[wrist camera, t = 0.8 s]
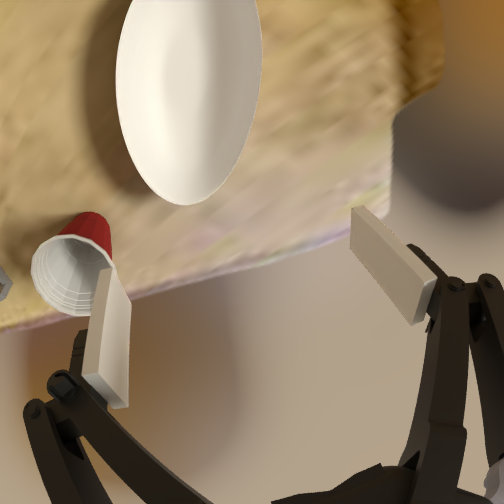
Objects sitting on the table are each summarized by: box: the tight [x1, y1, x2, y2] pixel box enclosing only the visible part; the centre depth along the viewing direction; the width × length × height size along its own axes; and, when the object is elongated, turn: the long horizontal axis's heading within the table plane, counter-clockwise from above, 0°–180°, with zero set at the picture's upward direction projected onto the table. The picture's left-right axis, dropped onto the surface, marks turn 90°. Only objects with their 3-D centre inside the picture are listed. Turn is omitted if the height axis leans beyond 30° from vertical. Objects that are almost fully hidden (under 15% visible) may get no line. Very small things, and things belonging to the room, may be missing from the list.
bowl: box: [116, 0, 262, 205], centre depth 30 cm, size 30×15×6 cm, turn 175°
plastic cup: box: [31, 212, 117, 316], centre depth 36 cm, size 11×11×12 cm
